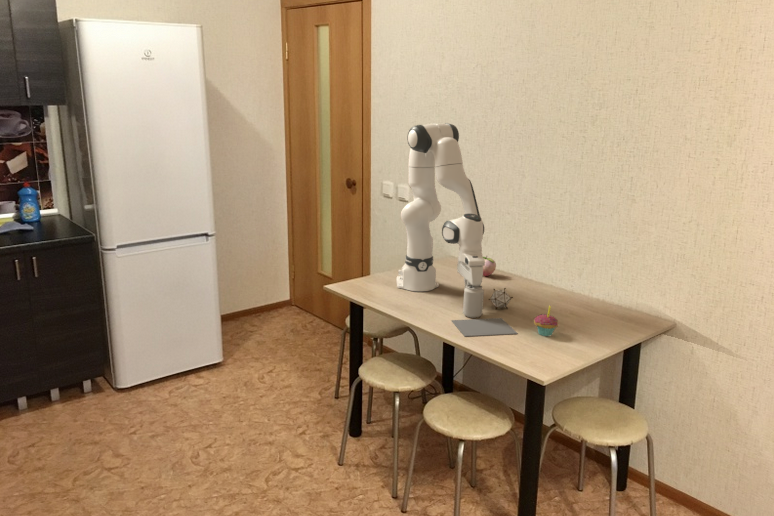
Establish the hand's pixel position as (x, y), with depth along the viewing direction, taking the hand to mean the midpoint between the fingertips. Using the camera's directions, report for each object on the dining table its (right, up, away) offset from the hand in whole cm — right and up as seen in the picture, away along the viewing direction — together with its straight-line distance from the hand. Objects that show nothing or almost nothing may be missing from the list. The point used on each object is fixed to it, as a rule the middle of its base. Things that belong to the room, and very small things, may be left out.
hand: (467, 289), depth 258 cm
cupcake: (+25, -15, -21) cm, 36 cm away
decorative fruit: (+14, +4, +49) cm, 51 cm away
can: (+1, -10, -4) cm, 11 cm away
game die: (+13, -8, +5) cm, 16 cm away
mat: (+4, -13, -17) cm, 22 cm away
